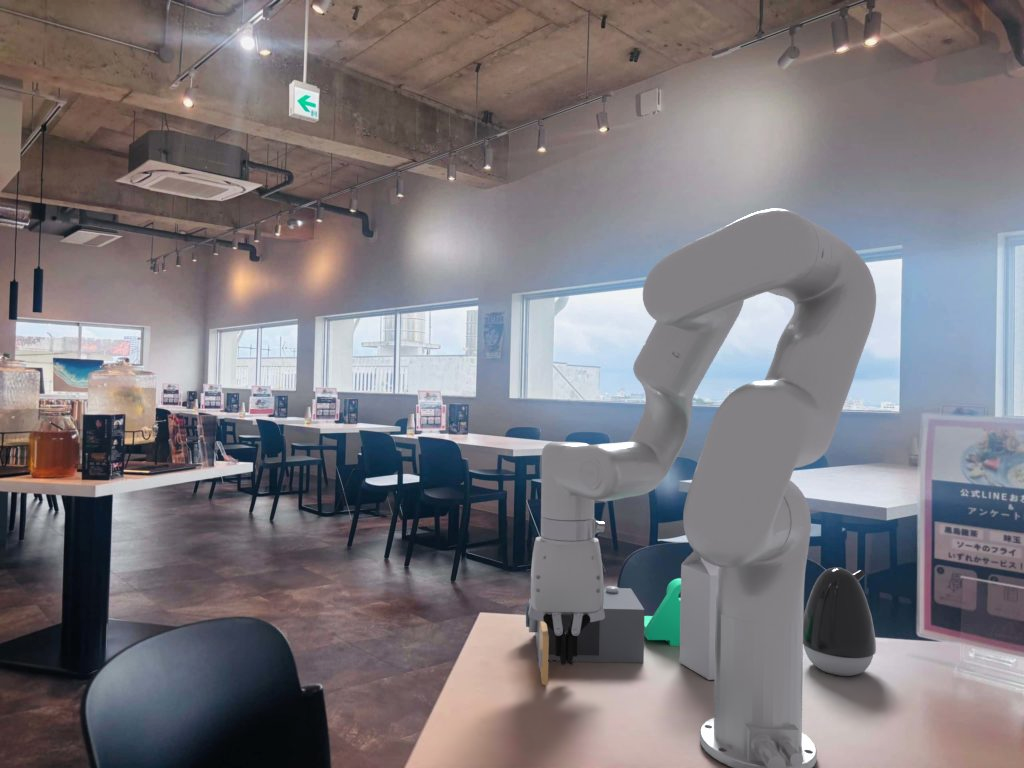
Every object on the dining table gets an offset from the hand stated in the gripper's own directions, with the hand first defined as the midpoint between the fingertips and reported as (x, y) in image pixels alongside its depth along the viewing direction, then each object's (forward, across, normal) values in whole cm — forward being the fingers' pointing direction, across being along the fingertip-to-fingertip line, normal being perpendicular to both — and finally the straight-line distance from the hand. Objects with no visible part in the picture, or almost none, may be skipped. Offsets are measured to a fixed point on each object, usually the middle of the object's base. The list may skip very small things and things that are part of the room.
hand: (566, 661), depth 99 cm
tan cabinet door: (+2, +3, -3) cm, 5 cm away
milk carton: (+3, -22, -6) cm, 23 cm away
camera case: (+3, -4, -14) cm, 15 cm away
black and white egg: (+3, -41, -7) cm, 42 cm away
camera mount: (+3, -20, -20) cm, 28 cm away
